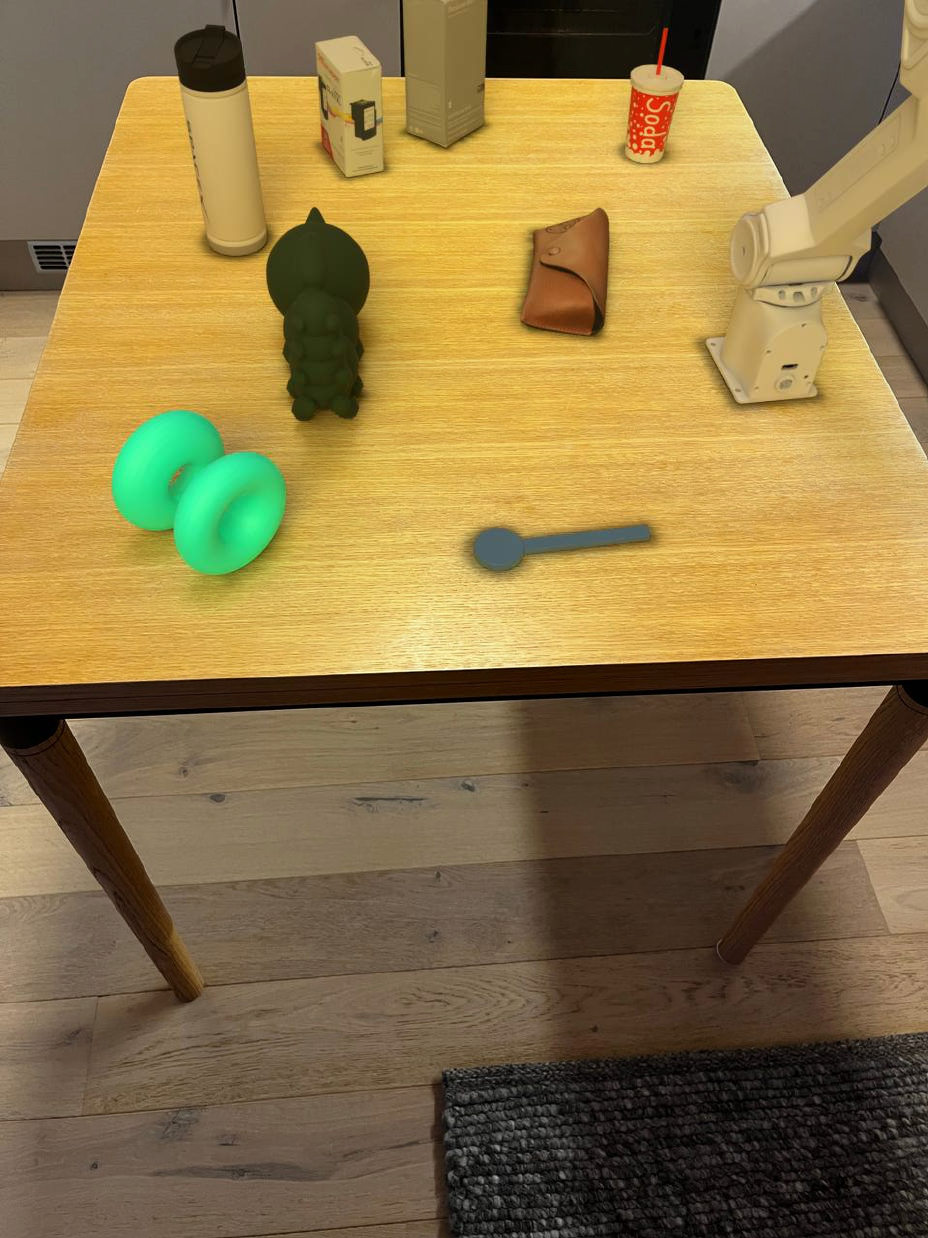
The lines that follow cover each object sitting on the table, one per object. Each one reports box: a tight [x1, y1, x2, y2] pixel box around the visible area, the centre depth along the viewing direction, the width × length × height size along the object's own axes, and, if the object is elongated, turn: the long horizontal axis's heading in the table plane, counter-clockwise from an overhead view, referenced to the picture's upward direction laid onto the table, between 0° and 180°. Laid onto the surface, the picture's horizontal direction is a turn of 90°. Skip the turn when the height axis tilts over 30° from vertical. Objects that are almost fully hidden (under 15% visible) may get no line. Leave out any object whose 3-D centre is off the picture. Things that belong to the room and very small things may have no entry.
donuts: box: [110, 409, 287, 576], centre depth 76 cm, size 10×10×10 cm
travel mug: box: [173, 23, 268, 257], centre depth 99 cm, size 6×7×20 cm
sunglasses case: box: [520, 207, 610, 337], centre depth 103 cm, size 18×7×7 cm
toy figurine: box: [265, 206, 371, 422], centre depth 87 cm, size 9×19×25 cm
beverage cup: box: [624, 27, 685, 164], centre depth 116 cm, size 6×6×14 cm
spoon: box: [473, 524, 651, 572], centre depth 81 cm, size 4×14×1 cm, turn 100°
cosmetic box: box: [402, 0, 488, 148], centre depth 118 cm, size 8×7×16 cm
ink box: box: [314, 35, 385, 178], centre depth 114 cm, size 9×5×12 cm, turn 25°
